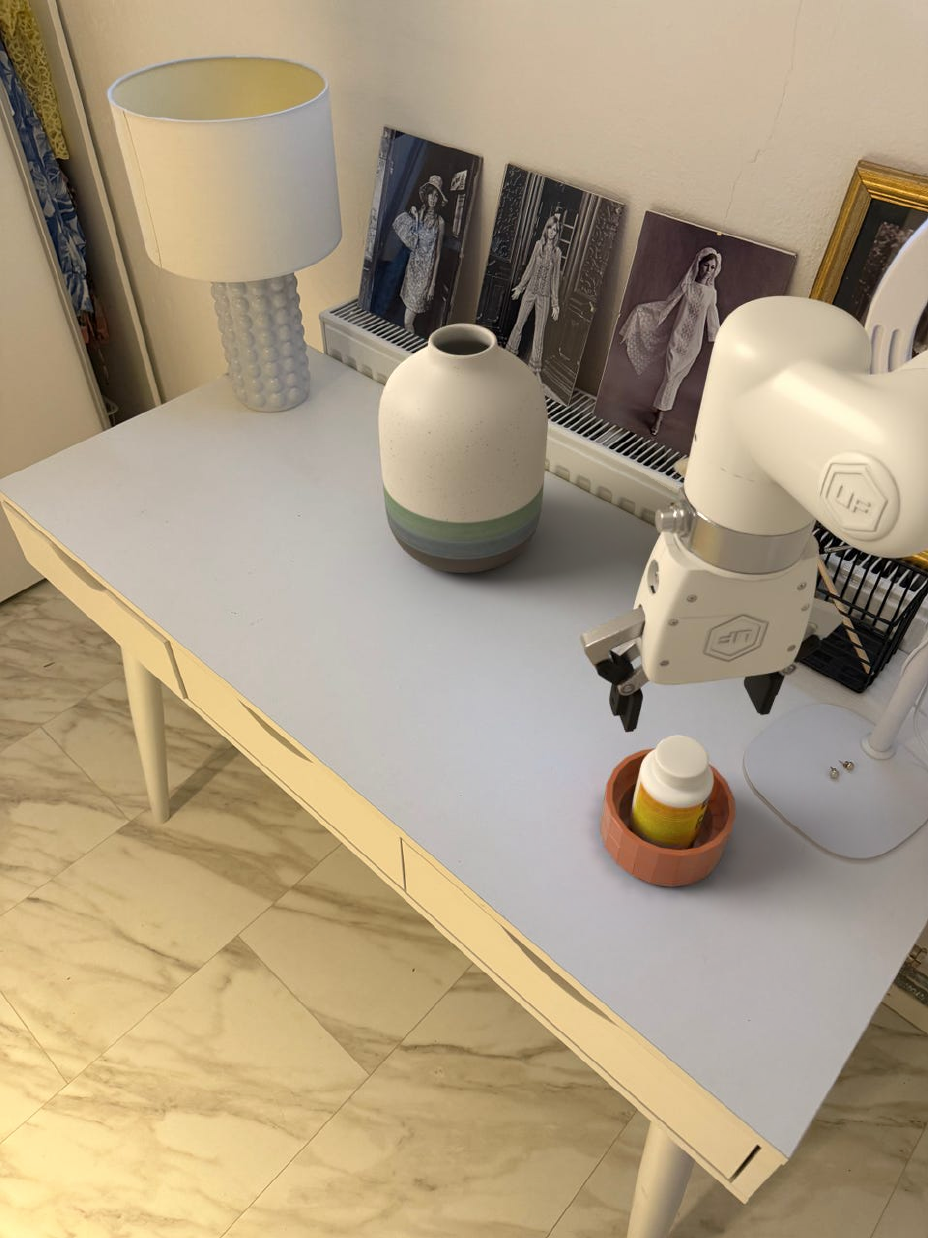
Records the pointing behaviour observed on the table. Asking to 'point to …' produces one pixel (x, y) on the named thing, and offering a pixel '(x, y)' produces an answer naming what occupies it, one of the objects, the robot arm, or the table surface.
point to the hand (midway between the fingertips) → (690, 707)
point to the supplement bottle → (672, 793)
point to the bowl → (652, 859)
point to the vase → (463, 451)
